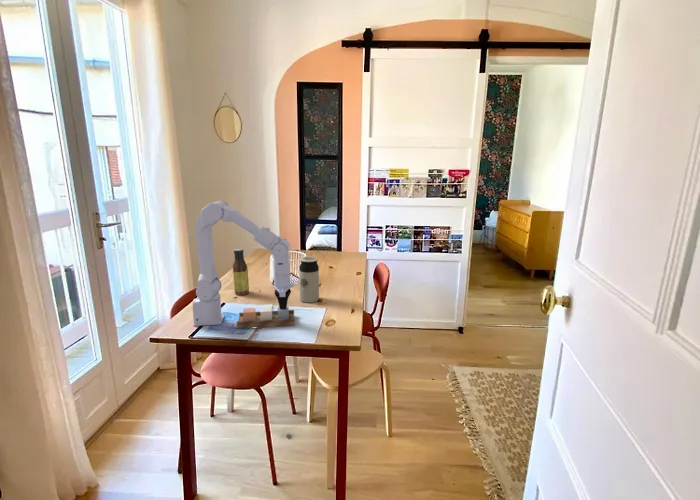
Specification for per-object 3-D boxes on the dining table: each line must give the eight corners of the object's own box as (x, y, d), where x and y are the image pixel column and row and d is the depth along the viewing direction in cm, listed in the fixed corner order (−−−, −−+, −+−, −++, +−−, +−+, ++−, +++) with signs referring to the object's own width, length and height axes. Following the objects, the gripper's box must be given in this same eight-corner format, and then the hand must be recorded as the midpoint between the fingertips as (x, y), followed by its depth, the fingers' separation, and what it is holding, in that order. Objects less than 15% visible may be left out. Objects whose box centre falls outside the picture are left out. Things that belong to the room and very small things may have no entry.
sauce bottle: (251, 293, 173) (249, 249, 168) (239, 296, 168) (236, 252, 164) (243, 290, 177) (241, 247, 172) (231, 293, 173) (228, 249, 168)
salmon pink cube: (243, 321, 139) (243, 312, 139) (244, 317, 143) (244, 308, 142) (255, 321, 140) (254, 312, 139) (255, 316, 144) (255, 307, 143)
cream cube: (260, 320, 140) (260, 311, 140) (261, 316, 144) (260, 307, 143) (272, 320, 141) (271, 311, 140) (272, 315, 145) (272, 307, 144)
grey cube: (277, 320, 141) (277, 310, 141) (277, 315, 145) (277, 306, 144) (288, 319, 142) (288, 310, 141) (288, 315, 146) (288, 306, 145)
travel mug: (310, 295, 171) (310, 255, 167) (322, 299, 166) (322, 258, 162) (296, 299, 166) (295, 258, 162) (307, 304, 161) (307, 262, 156)
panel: (237, 329, 137) (236, 322, 136) (239, 318, 146) (239, 312, 145) (294, 325, 140) (294, 319, 140) (294, 315, 149) (293, 309, 148)
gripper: (293, 278, 133) (294, 316, 137) (292, 267, 147) (293, 301, 151) (272, 279, 132) (274, 317, 135) (273, 268, 146) (274, 302, 149)
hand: (283, 309), depth 143 cm, fingers closed, pressing on grey cube
